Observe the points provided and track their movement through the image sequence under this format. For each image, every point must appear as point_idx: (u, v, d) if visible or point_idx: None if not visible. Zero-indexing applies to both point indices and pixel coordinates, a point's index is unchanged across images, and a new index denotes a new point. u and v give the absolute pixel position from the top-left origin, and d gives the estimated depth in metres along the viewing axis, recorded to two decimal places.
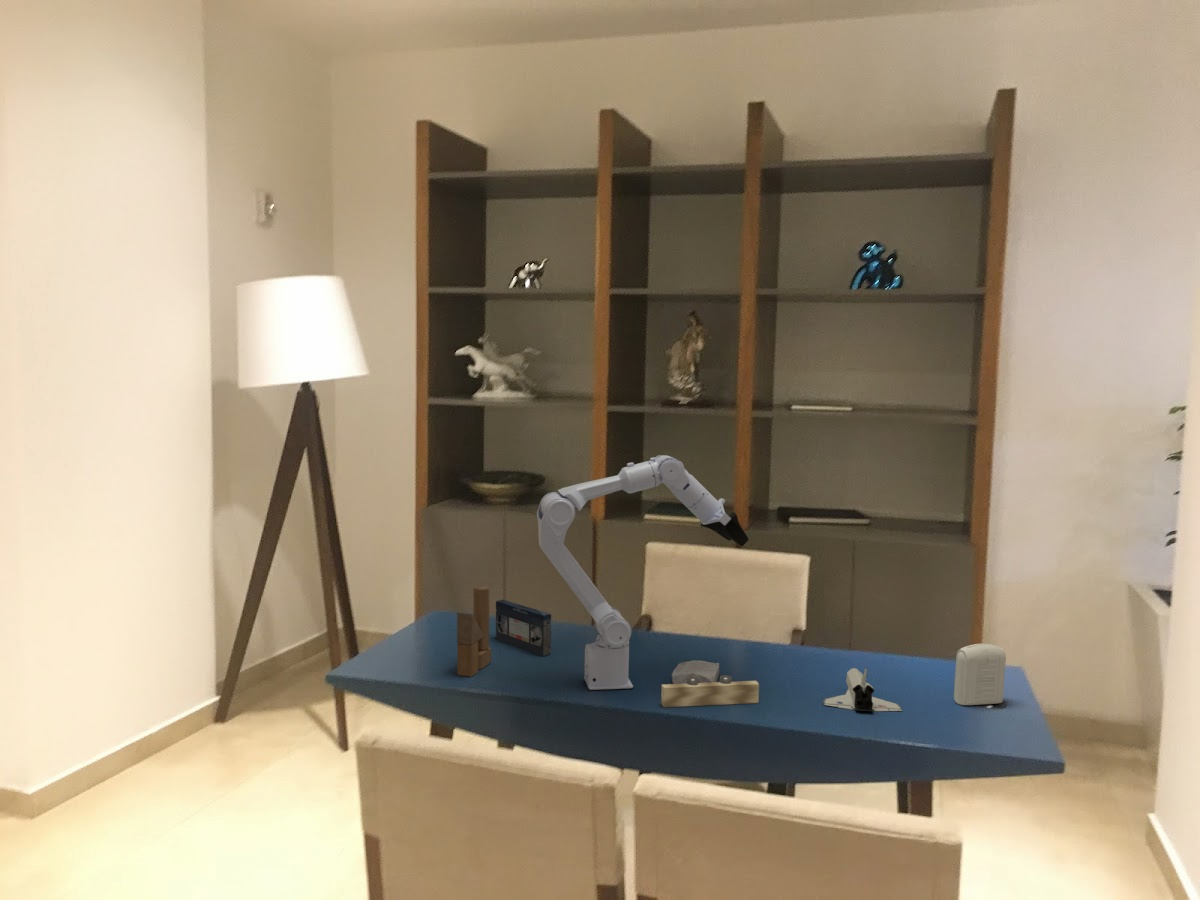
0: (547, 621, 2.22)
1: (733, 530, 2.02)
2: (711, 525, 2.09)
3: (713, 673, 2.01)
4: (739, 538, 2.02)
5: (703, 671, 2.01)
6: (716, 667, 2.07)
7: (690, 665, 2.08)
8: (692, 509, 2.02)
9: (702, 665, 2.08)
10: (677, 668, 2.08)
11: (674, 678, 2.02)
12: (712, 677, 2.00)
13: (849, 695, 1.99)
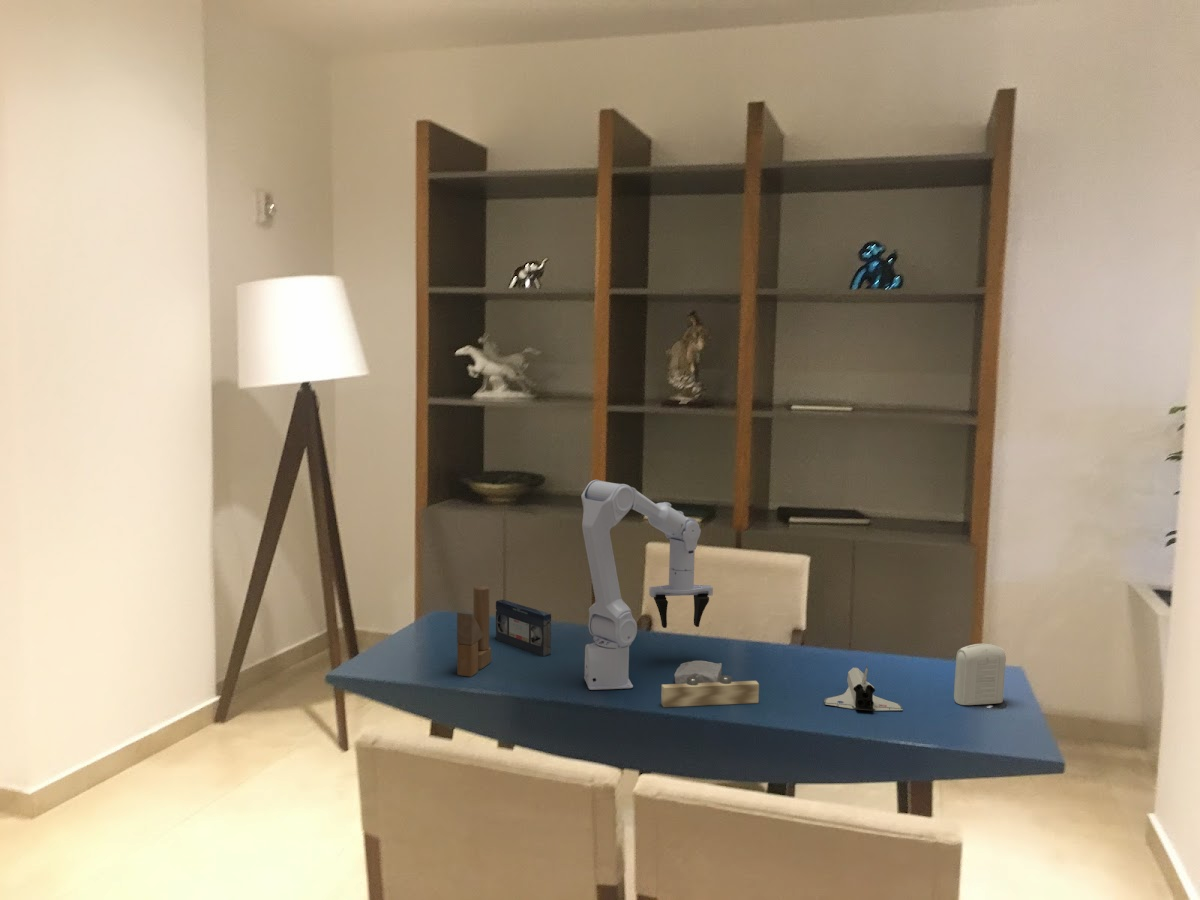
0: (547, 621, 2.22)
1: None
2: None
3: (716, 673, 2.01)
4: None
5: (705, 671, 2.01)
6: (719, 667, 2.07)
7: (692, 665, 2.08)
8: (689, 573, 2.14)
9: (705, 665, 2.08)
10: (680, 668, 2.08)
11: (677, 678, 2.02)
12: (715, 677, 2.00)
13: (850, 694, 1.99)
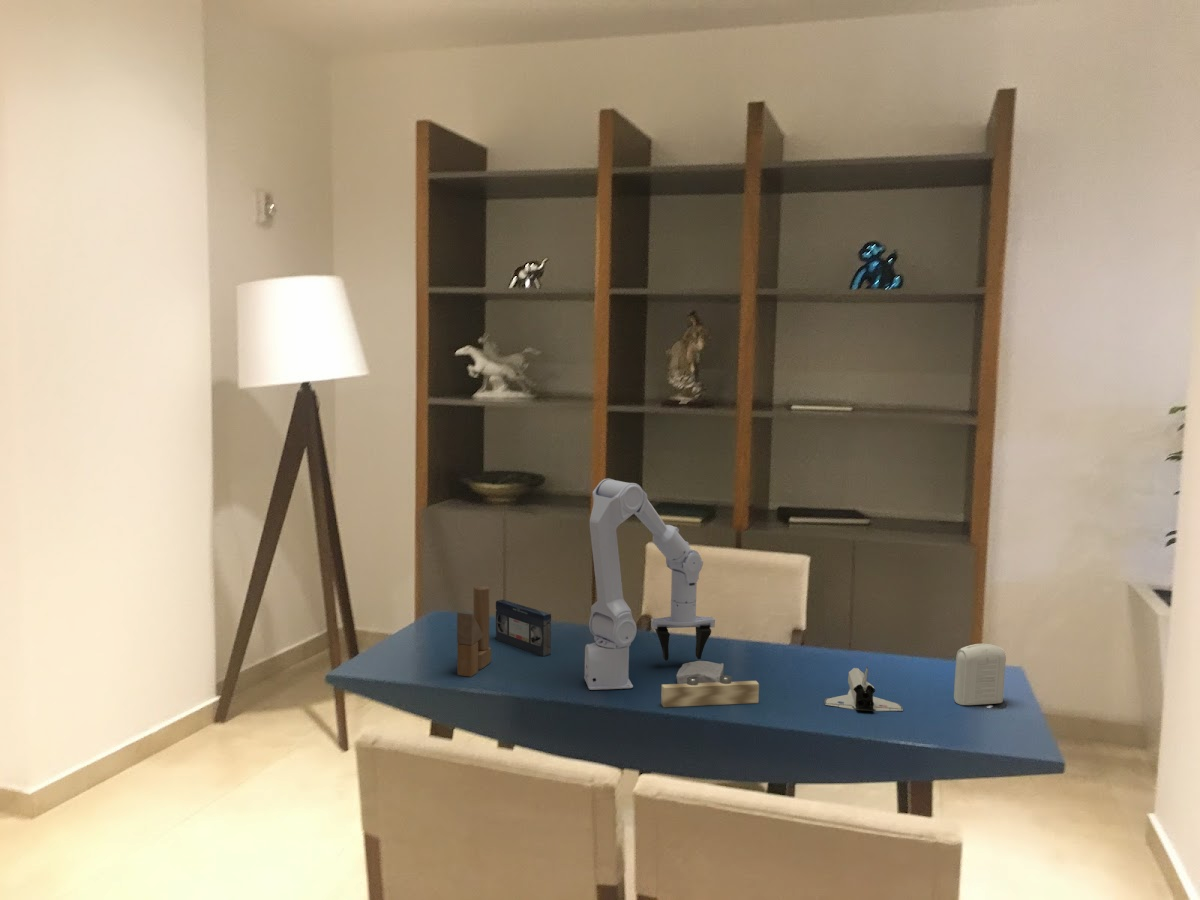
0: (547, 621, 2.22)
1: None
2: None
3: (718, 673, 2.01)
4: None
5: (707, 671, 2.01)
6: (721, 667, 2.07)
7: (694, 665, 2.08)
8: (691, 605, 2.13)
9: (707, 665, 2.08)
10: (682, 668, 2.08)
11: (679, 679, 2.02)
12: (717, 677, 2.00)
13: (850, 695, 1.99)
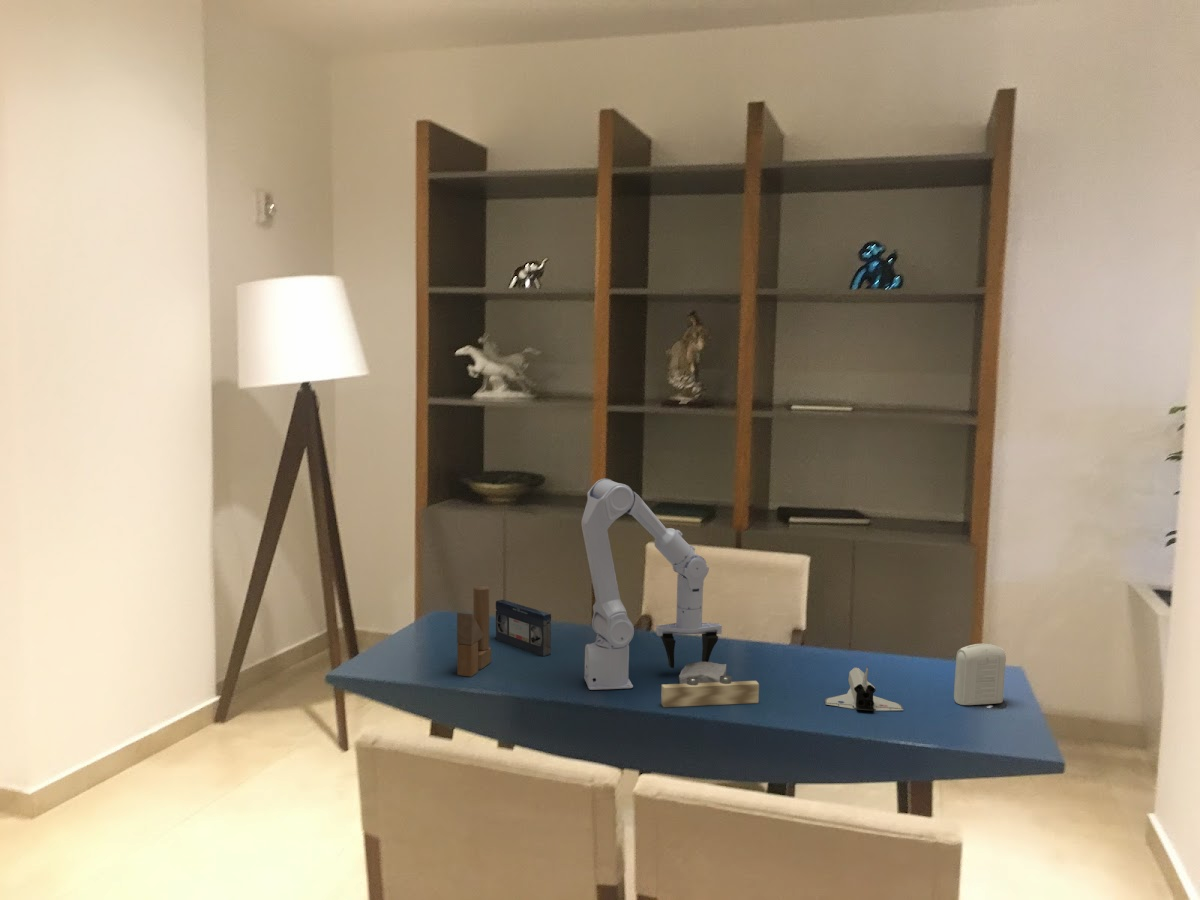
0: (547, 621, 2.22)
1: None
2: None
3: (721, 674, 2.00)
4: None
5: (710, 672, 2.00)
6: (723, 668, 2.06)
7: (697, 666, 2.07)
8: (698, 611, 2.07)
9: (709, 666, 2.07)
10: (684, 669, 2.07)
11: (682, 679, 2.01)
12: None
13: (851, 694, 1.99)
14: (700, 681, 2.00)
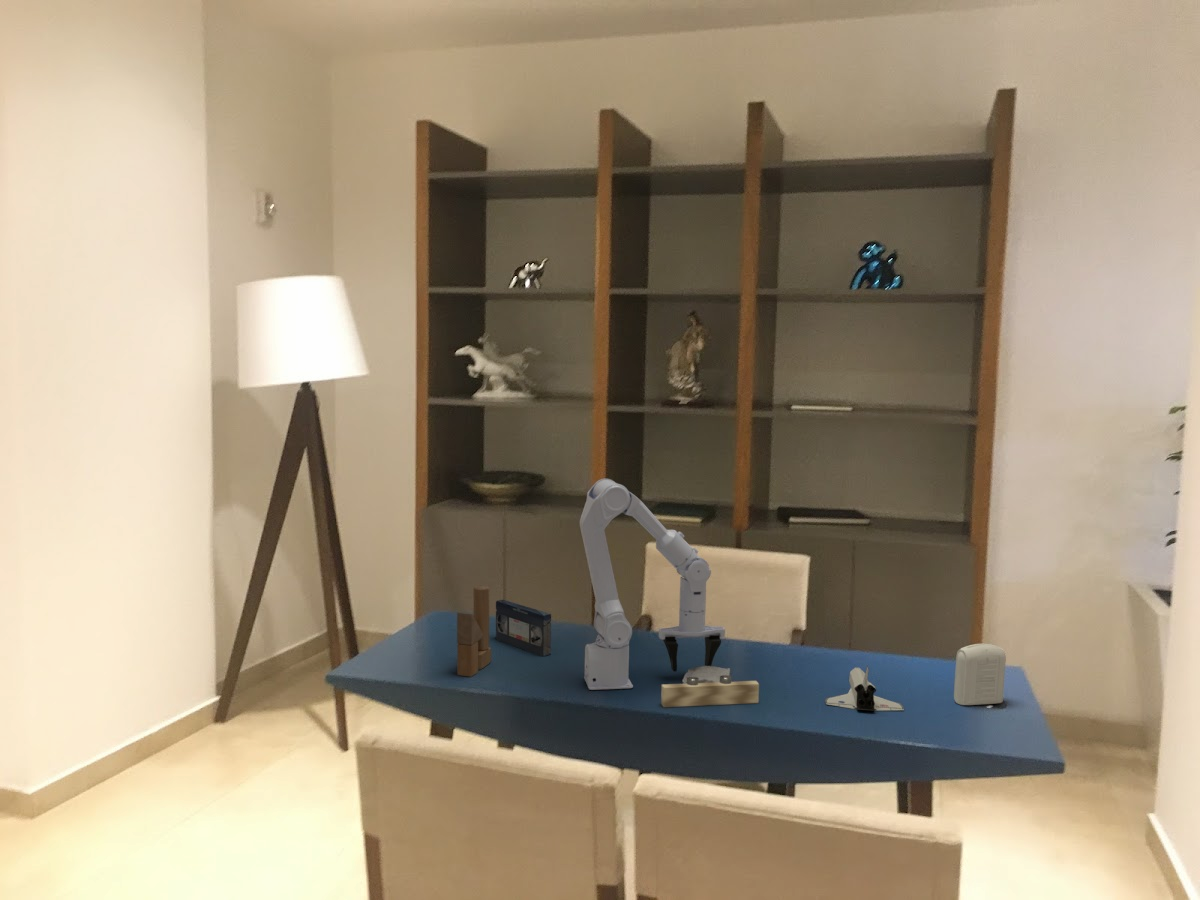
0: (547, 621, 2.22)
1: None
2: None
3: None
4: None
5: (714, 677, 1.97)
6: (727, 672, 2.04)
7: (700, 670, 2.04)
8: (701, 614, 2.05)
9: (713, 670, 2.04)
10: (687, 674, 2.04)
11: None
12: None
13: (851, 694, 1.99)
14: None
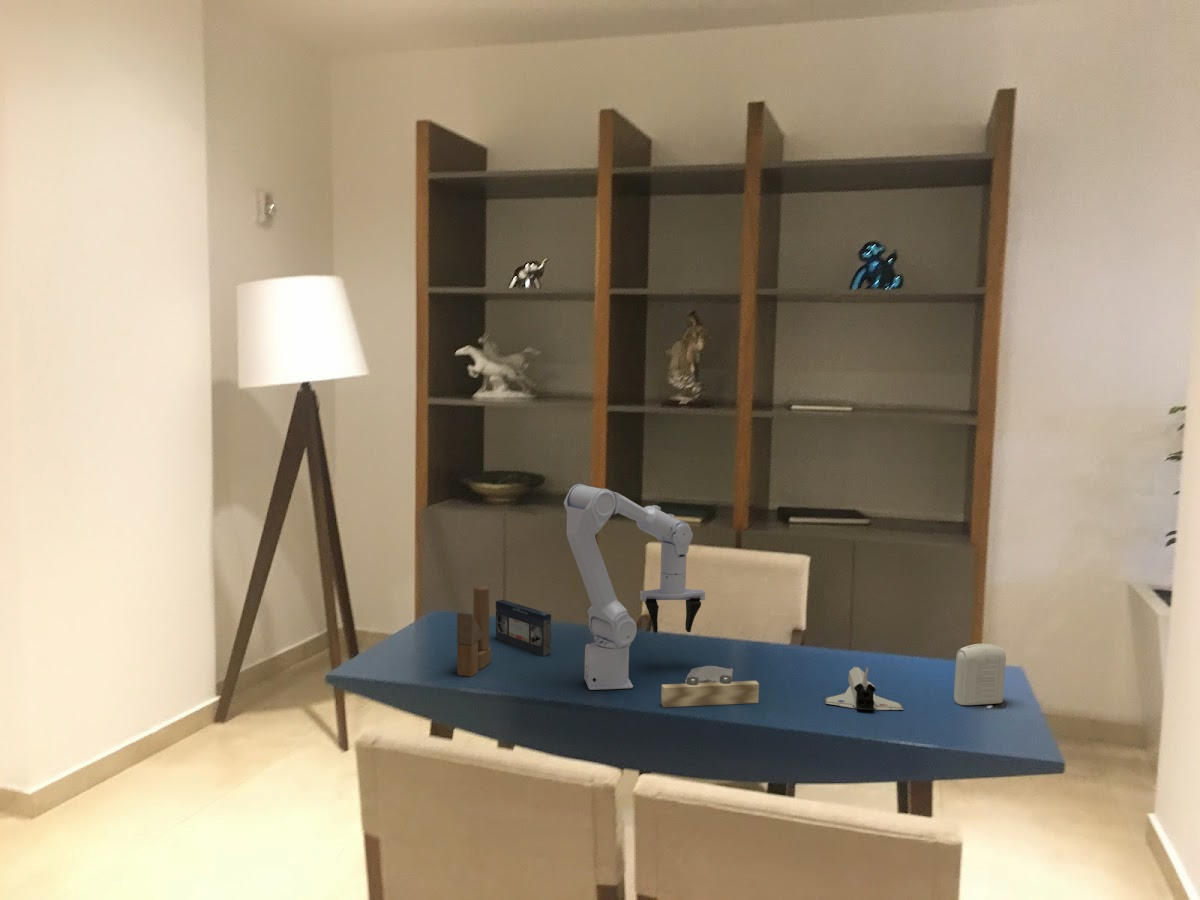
0: (547, 621, 2.22)
1: None
2: None
3: None
4: None
5: (717, 677, 1.97)
6: (730, 673, 2.04)
7: (703, 671, 2.04)
8: (681, 577, 2.10)
9: (716, 671, 2.04)
10: (690, 674, 2.04)
11: None
12: None
13: (851, 694, 2.00)
14: None
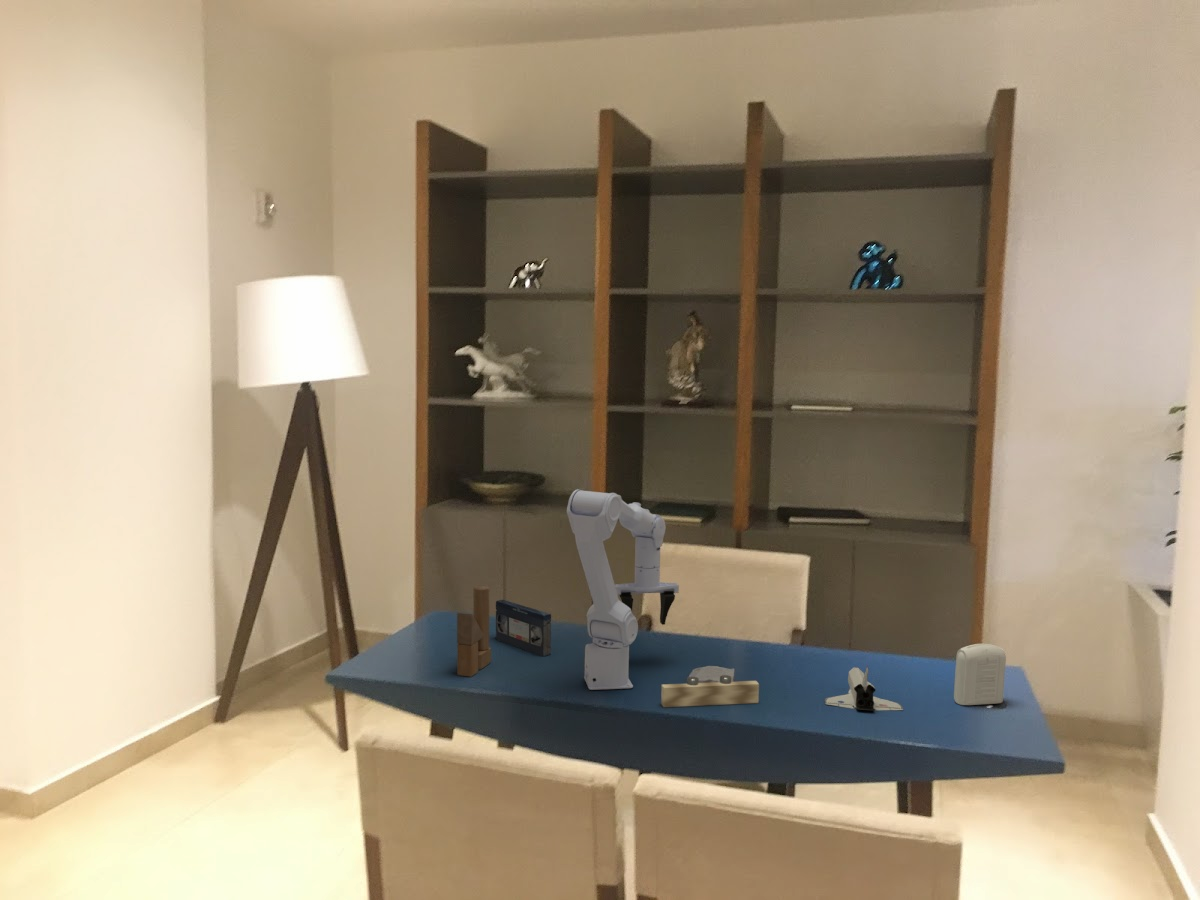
0: (547, 621, 2.22)
1: None
2: None
3: None
4: None
5: (719, 677, 1.97)
6: (732, 673, 2.04)
7: (705, 671, 2.04)
8: (655, 570, 2.13)
9: (717, 671, 2.04)
10: (692, 674, 2.04)
11: None
12: None
13: (850, 694, 2.00)
14: None
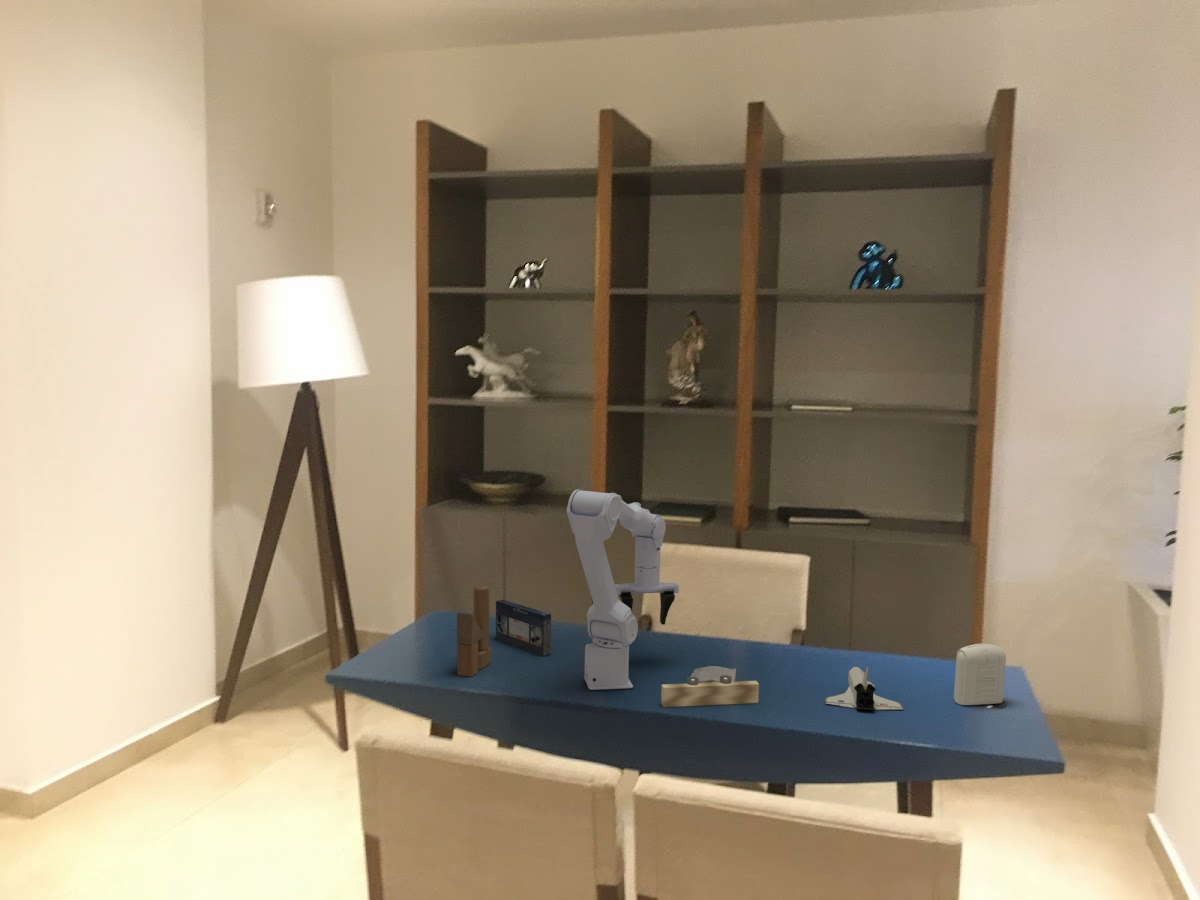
0: (547, 621, 2.22)
1: None
2: None
3: (732, 679, 1.97)
4: None
5: None
6: (733, 673, 2.04)
7: (706, 671, 2.04)
8: (655, 570, 2.13)
9: (719, 671, 2.04)
10: (694, 674, 2.04)
11: None
12: None
13: (851, 694, 2.00)
14: None
